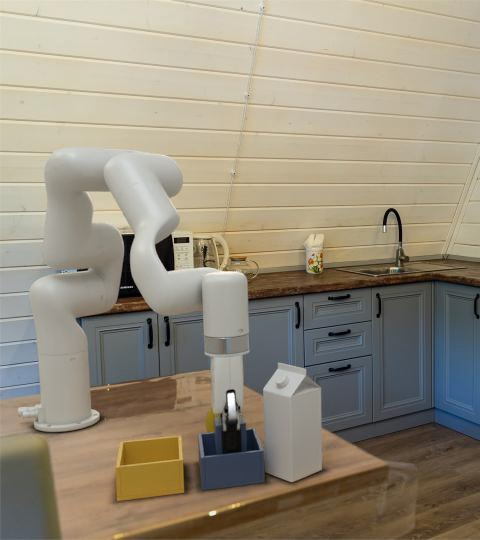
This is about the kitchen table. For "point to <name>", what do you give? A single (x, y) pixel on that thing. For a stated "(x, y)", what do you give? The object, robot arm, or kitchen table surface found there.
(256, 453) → the blue bin
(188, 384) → the kitchen table surface
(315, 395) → the milk carton
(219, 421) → the blue block
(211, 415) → the lemon
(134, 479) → the yellow bin
